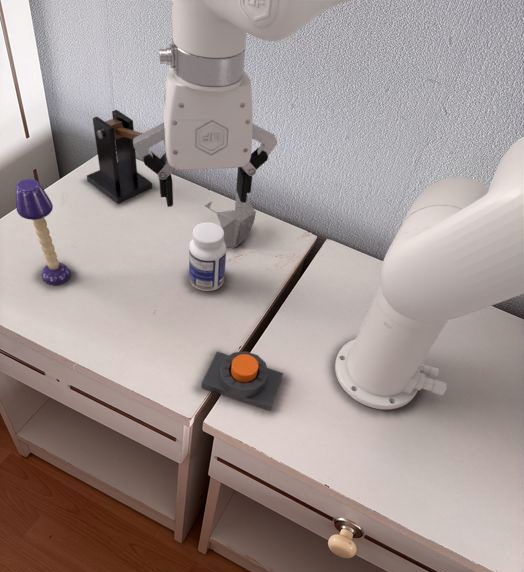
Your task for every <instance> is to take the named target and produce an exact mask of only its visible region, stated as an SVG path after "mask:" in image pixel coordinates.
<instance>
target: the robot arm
mask: <svg viewBox="0 0 524 572" xmlns="http://www.w3.org/2000/svg"><path fill="white" fill-rule="evenodd" d="M349 1H351V0H171V25H172V26H171V27H172V29H171V30H172V37H171V43H170V44H169V47H165V48H158V59H159V60H158V61H159V64H161V65H163V64H166V65H167V66H170V68H169V69H168V70H167V75H166V81H165V87H164V98H163V117H162V118H163V120H162V121H163V122H162V123H160V124H157V125H156V126H154V127H152V128H150V129H149V130H147V131H144V132H142V133H143V134H141V135H139V136H137V137H135V138H134V139H133V145H134V148H135V152H136V153H137V155H138V156H139V158H140V159H141V160H142V161H143V164H144V165H145V166H146V167H147V168H148V169H150V170H151V171H152V172H153V173H154V174H156V175H157V177H158V180H159V181H158V183H159V194H160V197H161V198H165V202H166V205H167V207H168V208H171V207H173V206H174V190H173V189H174V188H173V186H174V185H173V177H172V173H173V172H174V171H175V170H180V171H189V170H191V171H193V170H194V171H195V170H197V171H198V170H219V169H221V170H223V169H236V168H237V175H236V186H235V187H236V189H235V191H236V190H237V193H238V196H239V199H240V202H242V203H246V199H247V198H248V194H250V193H252V184H253V176H256V174H257V170H258V169H259V168H260V167H262V166H263V165H264V164H265V163H266V162H267V161H268V159H269V156H270V155H271V154H272V152H273V150H274V149H275V148H276V147H277V145H278V139H277V138H276V136H275V134H274V133H272V132H270V131H268V130H267V129H265V128H263V127H260V126H258V125H257V124H255V123H254V122H253V117H254V115H253V113H254V112H253V92H252V91H253V90H252V82H251V78H250V76H249V75H248V73H247V72H246V71H245V58H246V46H247V45H246V44H247V43H246V42H247V34H248V35H251V36H253V37H254V38H257V39H260V40H263V41H268V42H278V41H281V40H285V39H287V38H289V37H291V36H292V35H295V33H297V32H298V31H300V30H301V29H303V28H304V27H305V26H306V25H308V24H309V23H310V22H312V21H313V20H314V19H315V18H317V17H318V16H320V15H321V14H323V13H324V12H325V11H327V10H328V9H331V8H333V7H336V6H338V5H340V4H344V3H347V2H349ZM253 140H255V141H256V142H258V143H260V146H259V147H257V148H256V149H255V150H254V151H253V150H252V149H253ZM162 141H163V144H164V148H165V149H164V151H163V152H162V153H161V155H160V156H157V154H155V153H154V152H153V151H152V150H150V148H151V147H153V146H155V145H156V144H158V143H160V142H162ZM247 200H248V199H247ZM379 273H380V274H379V283H378V284H377V287H376V290H375V291H374V294H373V297H372V299H371V302H370V304H369V307H368V309H367V311H366V314H365V316H364V319H363V320H362V324H361V325H360V328H359V331H358V333H357V335H356V338H353V339H351V340H349V341H348V342H346V343H345V344H344V345H342V347H341V348H340V349H339V351H338V354H337V355H336V358H335V363H334V370H335V376H336V379H337V381H338V383H339V384H340V385H339V386H341V388H342V389H343V390H344V391H345V393H346V394H347V395H349V396H350V397H351V398H352V399H353V400H354V401H356V402H358V403H360V404H361V405H363V406H367V407H369V408H373V409H377V410H395V409H399V408H402V407H404V406H405V405H407V404H409V403H410V402H411V401H412V400H414V398H415V396H416V395H417V393H418V391H421V390H426V391H428V392H429V393H431V394H435V395H439V396H441V397H442V396H444V395H445V394H446V391H447V387H448V383H447V382H445V381H441V380H439V379H436V378H438V377H439V374H440V368H438V367H434V366H431V365H426V364H425V362H424V360H425V358H426V357H427V356H428V354H429V352H430V350H431V349H432V347H433V346H434V344H435V343H436V341H437V339H438V337H439V336H440V334H441V333H442V332H443V330H444V328H445V326H446V325H447V323H448V322H449V321H451V320H454V319H458V318H461V317H464V316H467V315H470V314H473V313H475V312H478V311H481V310H484V309H486V308H489V307H492V306H495V305H497V304H500V303H502V302H506V301H507V300H510V299H513V298H515V297H519V296H521V295H523V294H524V135H523V136H522V137H520V138H519V139H517V140H516V141H514V142H513V143H512V145H511V146H510V147H509V148H507V150H506V151H505V153H504V154H503V156H502V157H501V159H500V161H499V163H498V165H497V167H496V169H495V172H494V175H493V177H492V180H491V182H490V185H489V187H487V186H486V185H485V184H484V183H482V181H479V180H476V179H474V178H472V177H467V176H452V177H447V178H443V179H440V180H438V181H436V182H434V183H432V184H431V185H429V186H427V188H425V189H424V190H423V191H422V192H421V193H420V194H419V195H418V196H417V197H416V199H415V200H414V202H413V203H412V205H411V206H410V208H409V210H408V211H407V213H406V215H405V216H404V219H403V221H402V223H401V224H400V226H399V228H398V231H397V233H396V234H395V236H394V238H393V240H392V241H391V244H390V246H389V248H388V249H387V251H386V254H385V255H384V258H383V260H382V263H381V267H380V272H379ZM426 375H427V376H429V377H427V376H426ZM430 377H432V378H430ZM433 378H434V379H433Z"/></svg>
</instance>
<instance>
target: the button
mask: <svg viewBox="0 0 524 572" xmlns="http://www.w3.org/2000/svg"><path fill="white" fill-rule="evenodd" d="M257 372H258V362H257V360H256V359H255V358H254V357H253V356H251V355H247V354H241V355H238V356H236V357H235V358H234V359H233V361H232V366H231V374H232V376H233V378H234V379H235V380H237V381H239V382H242V383H248V382H251V381H253V380H254V379H255V378H256V376H257Z"/></svg>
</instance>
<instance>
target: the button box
mask: <svg viewBox="0 0 524 572" xmlns="http://www.w3.org/2000/svg"><path fill="white" fill-rule="evenodd" d="M241 354H247V355H251V356H253V357H254V358H255V359H256V360H257V362H258V372H257V376H256V378H255V379H254V380H253V381H251V382H248V383H242V382H239V381H237V380H235V379H234V378H233V376H232V374H231V366H232V361H233V359H234V358H235V357H236V356H238V355H241ZM283 376H284V373H283V372H281V371H278V370H275V369H272V368H269V367H268V366H267V363H266V362H265V360H264V359H263V358H261V357H260V356H259V355H258V354H255V353H252V352H250V351H245V350H244V351H234V352H232V353H230V354H227V353H223V352H221V351H216V352H215V355H214V357H213V359H212V361H211V362H210V365H209V367H208V369H207V371H206V373H205V375H204V376H203V379H202V382H201V385H200V386H201V389H203V390H206V391H208V392H212V393H215V394H217V395H221V396H224V397H227V398H230V399H233V400H237V401H239V402H242V403H245V404H248V405H251V406H254V407H257V408H260V409H263V410H266V411H270V412H271V409H272V406H273V403H274V400H275V398H276V396H277V394H278V389H279V387H280V384H281V381H282V379H283Z"/></svg>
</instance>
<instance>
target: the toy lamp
mask: <svg viewBox="0 0 524 572" xmlns="http://www.w3.org/2000/svg"><path fill="white" fill-rule="evenodd" d="M53 207H54V205H53V202H52V200H51V199H50V197H49V196H48V194H47V192H46V191H45V189H44V187H43V186H42V185H41V183H40V182H39V181H38V180H36V179H33V178H23V179H22V180H19V181H18V182H17V184H16V185H15V208H16V212H17V214H18V215H19V216H20V217H21V218H23V219H26V220H31V221H32V224H33V227H34V228H35V234H36V236H37V237H38V243H39V244H40V249H41V251H42V253H43V257H44V259H45V260H46V265H45V266H44V267H43V269H42V271H41V278H42V281H43V282H44V283H45V284H47V285H52V286H58V285H62V284H64V283H67V282H68V280H69V279H70V278H71V271H70V269H69V267H68V266H67V265H66V264H64V263H63V262H60V261H59V259H58V255H57V253H56V251H55V250H56V248H55V245H54V244H53V239H52V237H51V235H50V229H49V227H48V224H47V220H46V219H45V218H46V217H48V216H50V214H51V213H52V211H53V209H54V208H53Z"/></svg>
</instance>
